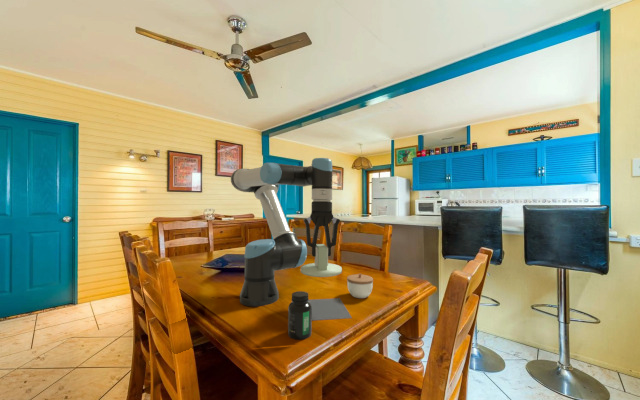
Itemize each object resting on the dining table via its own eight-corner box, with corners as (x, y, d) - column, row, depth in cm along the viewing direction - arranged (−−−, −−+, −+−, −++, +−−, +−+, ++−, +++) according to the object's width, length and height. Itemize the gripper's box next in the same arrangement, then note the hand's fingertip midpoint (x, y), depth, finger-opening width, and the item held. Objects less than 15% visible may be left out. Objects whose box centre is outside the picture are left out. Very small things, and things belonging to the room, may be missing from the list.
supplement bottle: (312, 340, 72) (312, 297, 72) (287, 341, 72) (287, 298, 72) (310, 329, 79) (311, 289, 79) (288, 329, 79) (288, 290, 79)
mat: (298, 322, 83) (298, 321, 83) (295, 301, 101) (295, 300, 101) (351, 319, 86) (352, 317, 86) (339, 299, 104) (339, 298, 104)
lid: (302, 277, 85) (302, 249, 85) (299, 266, 100) (299, 242, 100) (346, 276, 88) (346, 249, 88) (336, 265, 102) (337, 242, 103)
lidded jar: (373, 302, 101) (373, 278, 101) (345, 300, 103) (345, 276, 103) (373, 293, 111) (373, 271, 111) (348, 291, 114) (348, 269, 114)
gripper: (300, 200, 89) (300, 268, 89) (345, 201, 92) (345, 267, 91) (299, 200, 97) (298, 263, 96) (340, 201, 99) (340, 262, 99)
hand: (321, 265), depth 94 cm, fingers closed on lid, 3 cm apart
